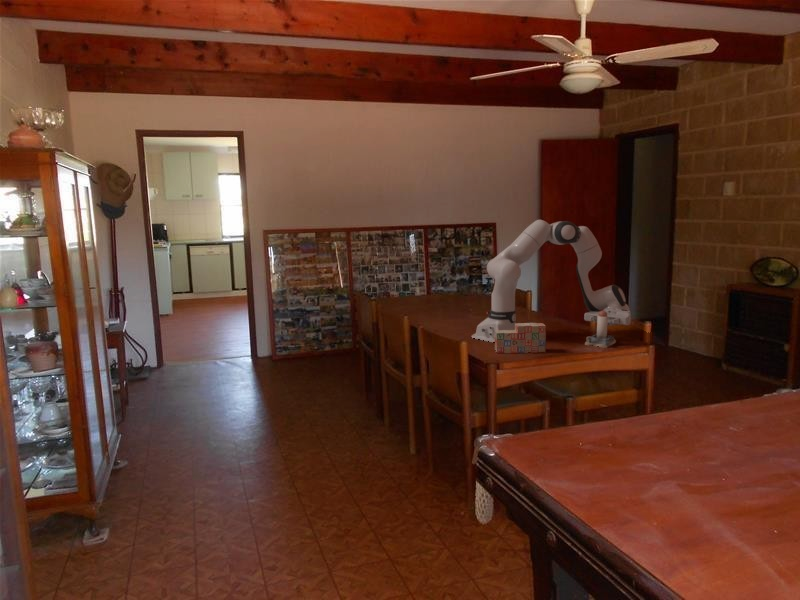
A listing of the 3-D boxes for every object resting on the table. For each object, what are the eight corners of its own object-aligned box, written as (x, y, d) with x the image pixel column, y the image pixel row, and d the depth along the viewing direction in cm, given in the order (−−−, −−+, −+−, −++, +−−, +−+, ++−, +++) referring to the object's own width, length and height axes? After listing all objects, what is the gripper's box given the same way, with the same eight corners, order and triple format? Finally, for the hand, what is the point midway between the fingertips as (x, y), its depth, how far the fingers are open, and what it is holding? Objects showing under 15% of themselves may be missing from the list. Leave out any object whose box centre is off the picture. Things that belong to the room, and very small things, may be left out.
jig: (584, 344, 271) (585, 337, 270) (594, 339, 280) (594, 332, 279) (607, 347, 264) (607, 339, 264) (615, 342, 274) (616, 334, 273)
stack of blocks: (496, 353, 260) (496, 326, 258) (494, 350, 266) (494, 323, 264) (545, 352, 259) (546, 325, 257) (542, 349, 265) (542, 322, 263)
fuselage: (594, 342, 270) (596, 310, 268) (598, 340, 273) (599, 309, 271) (604, 343, 267) (605, 311, 265) (607, 341, 271) (609, 310, 268)
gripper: (590, 307, 284) (579, 311, 274) (634, 311, 272) (624, 316, 261) (589, 320, 285) (578, 325, 275) (633, 324, 273) (623, 330, 262)
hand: (601, 320), depth 268 cm, fingers open, 8 cm apart
